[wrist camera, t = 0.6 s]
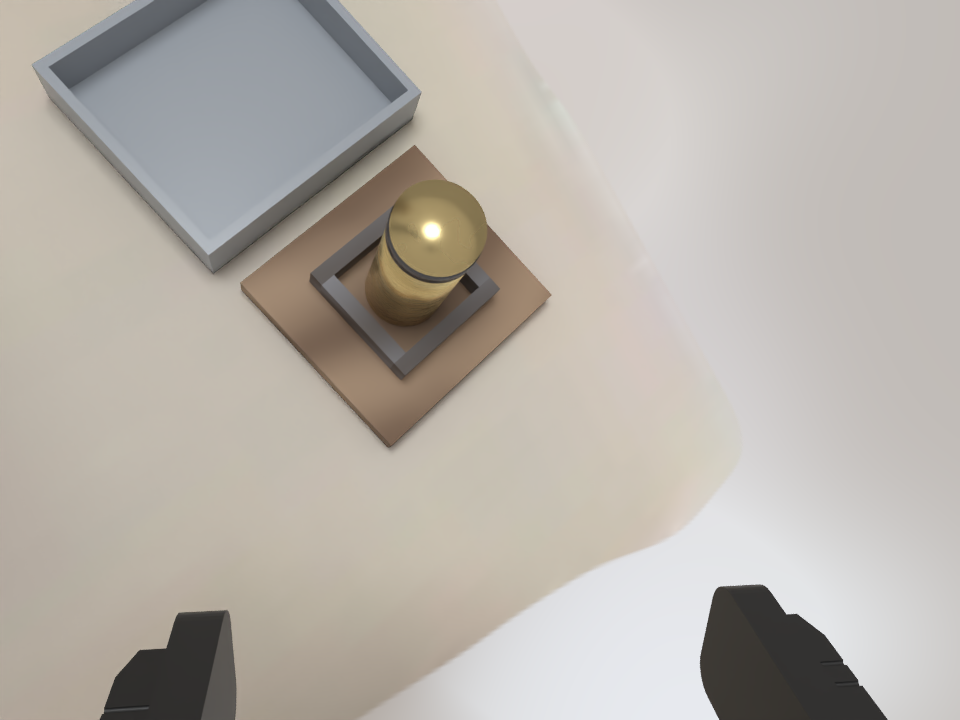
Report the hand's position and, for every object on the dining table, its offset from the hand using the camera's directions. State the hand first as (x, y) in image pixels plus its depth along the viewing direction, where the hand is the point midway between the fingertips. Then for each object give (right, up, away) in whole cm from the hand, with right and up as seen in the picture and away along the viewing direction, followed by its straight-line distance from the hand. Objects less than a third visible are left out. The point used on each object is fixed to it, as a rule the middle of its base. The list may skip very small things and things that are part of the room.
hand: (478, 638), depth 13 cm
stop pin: (-4, +8, +28) cm, 30 cm away
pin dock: (-4, +8, +29) cm, 31 cm away
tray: (-13, +18, +29) cm, 37 cm away
